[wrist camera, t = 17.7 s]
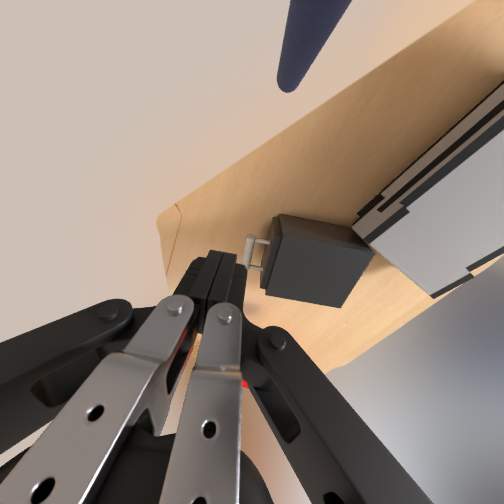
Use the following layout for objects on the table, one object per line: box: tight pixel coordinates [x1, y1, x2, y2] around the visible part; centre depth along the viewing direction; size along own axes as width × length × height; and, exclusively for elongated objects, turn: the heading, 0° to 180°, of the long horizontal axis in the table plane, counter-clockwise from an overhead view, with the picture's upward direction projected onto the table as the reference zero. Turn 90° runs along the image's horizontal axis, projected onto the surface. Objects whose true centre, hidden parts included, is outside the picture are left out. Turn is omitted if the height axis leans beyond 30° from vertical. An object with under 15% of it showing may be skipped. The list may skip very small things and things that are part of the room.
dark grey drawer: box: [242, 217, 282, 289], centre depth 36 cm, size 18×12×8 cm, turn 80°
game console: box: [352, 81, 504, 299], centre depth 29 cm, size 21×32×8 cm, turn 144°
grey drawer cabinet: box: [265, 214, 375, 308], centre depth 36 cm, size 15×13×10 cm
